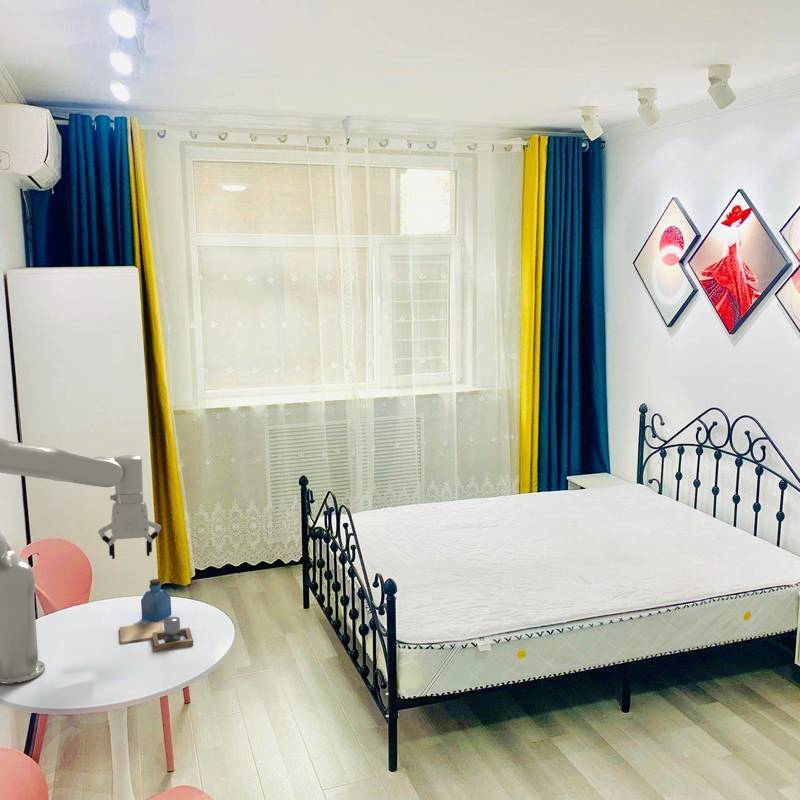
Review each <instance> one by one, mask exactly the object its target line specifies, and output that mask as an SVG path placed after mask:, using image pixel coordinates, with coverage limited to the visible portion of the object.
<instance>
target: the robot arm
mask: <svg viewBox="0 0 800 800" xmlns="http://www.w3.org/2000/svg"><path fill="white" fill-rule="evenodd" d="M0 473H2V474H7V475H14V476H22V477H30V478H31V477H32V478H37V479H38V478H39V479H45V480H51V481H56V482H66V483H73V484H78V485H84V486H85V485H86V486H92V487H99V488H112V487H114V489H115V491H114V492H115V493H114V494H113V495H112V494H111V495H110V497H109V498H110V499H109V501H114V503H113V504H112V509H111V522H110V523H109V524H107V525H105V526H103V527H101V528H100V529H98V532H97V533H98V534H99V537H100V538H101V539H102V541H103V542H105V543H106V544H107V545H108V551H109V554H108V555H109V557H110V556H111V559H112V560H115V558H116V557H115V556H116V555H115V554H116V553H115V542H116V541H117V540H129V539H139V538H144V539H146V541H145V542H146V543H145V546H146V556H147V557H149V556H150V553H153V548H152V547H153V544H152V543H153V541H154V540H155V539H156V538H157V537H158V535H159V533H160V532H161V529H162V525H161V524H158V523H156V522H154V521H152V520H149V514H148V513H149V512H148V507H147V506H148V505H147V503H146V501H144V491H143V490H144V488H143V486H144V485H143V460H142V458H141V456H139V455H137V454H135V455H134V454H127V455H120V456H95V457H88V456H83V455H80V454H74V453H71V452H69V451H65V450H62V449H59V448H55V447H49V446H43V445H41V446H40V445H35V444H31V443H30V444H29V443H23V442H16V441H11V440H7V439H5V438H0ZM149 527H150V528H153V529H154V531H153V532H152V533H151V534H150V531H149V529H150V528H149ZM109 530H111V531H110V532H111V536H110V538H109V536H107V535H106V533H107V532H108V531H109ZM35 589H36V576H35V572H34V570H33V568H32V566H31V565H30V563H28V562H27V561H25V560H24V559H23V558H22V557H21V556H19V555H18V554H17V552H16V550H14V549H13V548H12V547H11V546H10V544H9V543H8V542H7V540H6V538H5V536H4V534H2V532H1V531H0V682H8V683H7V684H13V683H12V682H18V683H22V681H23V682H26V680H27V681H30V680H32V679H35V678H37V677H38V676H40V675H42V674H43V673H44V672H45V670H46V665H45V663H44V662H43V661H40V660H39V652H38V651H39V650H38V638H37V619H36V610H35V608H36V607H35V592H36V591H35Z"/></svg>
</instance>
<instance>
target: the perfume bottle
mask: <svg viewBox="0 0 800 800" xmlns="http://www.w3.org/2000/svg"><path fill="white" fill-rule="evenodd" d="M148 585H149V586H148V587H149V588H148V589H150V590H148V591H146V592H145V593H144V595H142V598H141V600H140V603H141V607H140V608H141V619H142V620H144V621H148V622H151V623H153V622H160V621H162V620H164V619H166V618H169V617H171V615H172V599H171V596H170V595H169V593H168V592H167V591H166V590H164V589H163V588H162V589H161V587H162V583H161V579H159V578H153V579H149V584H148Z"/></svg>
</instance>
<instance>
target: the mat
mask: <svg viewBox="0 0 800 800" xmlns="http://www.w3.org/2000/svg"><path fill="white" fill-rule="evenodd" d="M161 631H164V626H163V623H162V620H160V621H158V622H148V623H147V622H146V623H140V624H133V625H132V624H131V625H127V626H125V625H124V626H119V639H120V645H125V644H129V643H135V642H136V643H137V642H143V641H149V640H153V635H152V633H154V632H161ZM160 637H161V638H160ZM163 638H164V639H165V637H164V636H158V639H163Z"/></svg>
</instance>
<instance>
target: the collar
mask: <svg viewBox="0 0 800 800" xmlns="http://www.w3.org/2000/svg"><path fill="white" fill-rule="evenodd" d="M152 635H153V639H152V641H153V649H154V652H158V651H164V650H171V649H178V648H185V647H191V646H194V639H193V635H192V633H191V629H190V627H182V628H181V627H180V636H183V635H185V637H186V639H182V640H180V641H174V642H167V643H165V642H162V643H160V642H159V639H162V638H161V637H160V638H158V636H164V630H163V631H161V632H154V633H152Z"/></svg>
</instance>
